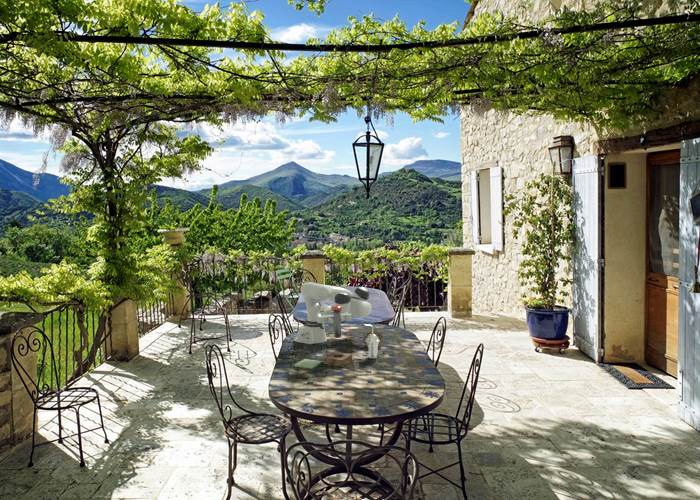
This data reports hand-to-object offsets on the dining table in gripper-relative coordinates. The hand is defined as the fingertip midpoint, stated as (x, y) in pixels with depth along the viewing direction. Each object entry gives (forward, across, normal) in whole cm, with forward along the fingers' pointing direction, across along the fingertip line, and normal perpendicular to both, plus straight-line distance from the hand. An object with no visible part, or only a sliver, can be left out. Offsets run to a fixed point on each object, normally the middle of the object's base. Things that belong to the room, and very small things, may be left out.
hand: (337, 320), depth 301 cm
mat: (-5, +17, -25) cm, 31 cm away
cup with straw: (-3, -22, -25) cm, 34 cm away
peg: (-1, 0, -10) cm, 10 cm away
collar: (-1, 0, -25) cm, 25 cm away
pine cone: (-27, -26, -25) cm, 45 cm away
